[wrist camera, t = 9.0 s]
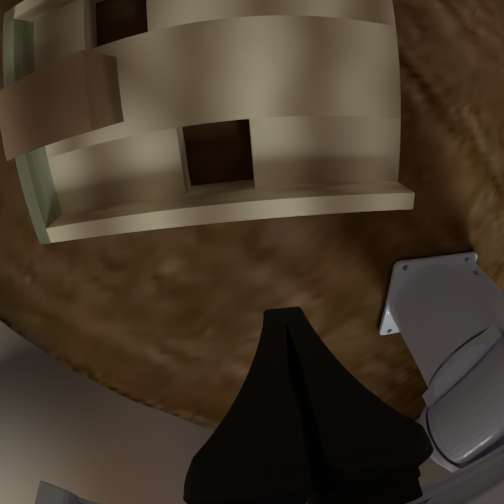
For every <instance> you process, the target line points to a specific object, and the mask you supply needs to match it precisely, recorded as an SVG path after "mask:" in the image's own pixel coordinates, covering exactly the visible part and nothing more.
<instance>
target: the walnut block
mask: <svg viewBox="0 0 504 504" xmlns="http://www.w3.org/2000/svg"><path fill="white" fill-rule="evenodd" d="M121 122H124V119H123V112H122V105H121V97H120V89H119V80H118V70H117V59H116V57H114V56H109V55H105V54H100V53H96V52H91V51H86V50H82V51H79V52H77V53H74V54H72V55H69V56H67V57H65V58H62V59H60V60H58V61H55V62H53V63H51V64H49V65H47V66H45V67H43V68H41V69H39V70H37V71H35V72H33V73H31V74H29V75H27V76H25V77H23V78H21V79H19V80H18V81H16V82H14V83H12V84H11V85H9V86H7V87H5V88H4V89H2V90H0V128H1V134H2V140H3V145H4V151H5V156H6V160H7V161H8V160H10V159H13V158H15V157H17V156H20V155H22V154H25V153H28V152H30V151H33V150H36V149H38V148H41V147H44V146H47V145H49V144H52V143H55V142H58V141H61V140H64V139H67V138H71V137H74V136H77V135H80V134H84V133H87V132H91V131H94V130H97V129H100V128H104V127H107V126H110V125H114V124H117V123H121Z"/></svg>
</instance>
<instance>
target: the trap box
mask: <svg viewBox="0 0 504 504" xmlns="http://www.w3.org/2000/svg"><path fill="white" fill-rule="evenodd" d="M102 1H104V0H24V1H22V2H21V3H19V4H18V5H16V6H15V7H13V8H12V9H10V10H9V11H7V12H6V13H4V24H3V74H4V88H5V87H7V86H9V85H11V84H12V83H14V82H16V81H18V80H19V79H21V78H23V77H25V76H27V75H29V74H31V73H33V72H35V71H37V70H39V69H41V68H43V67H45V66H47V65H49V64H51V63H53V62H55V61H58V60H60V59H62V58H65V57H67V56H69V55H72V54H74V53H77V52H79V51H82V50H86V51H91V52H96V53H100V54H105V55H109V56H114V57H116V59H117V70H118V80H119V89H120V97H121V105H122V112H123V119H124V122H121V123H117V124H114V125H110V126H107V127H104V128H100V129H97V130H94V131H91V132H87V133H84V134H80V135H77V136H74V137H71V138H67V139H64V140H61V141H58V142H55V143H52V144H49V145H47V146H44V147H41V148H38V149H36V150H33V151H30V152H28V153H25V154H22V155H20V156H17V157H15V161H16V165H17V170H18V174H19V178H20V182H21V186H22V189H23V193H24V196H25V200H26V203H27V207H28V210H29V213H30V216H31V219H32V222H33V225H34V228H35V231H36V234H37V237H38V239H39V242H40V244H47V243H53V242H60V241H67V240H74V239H82V238H89V237H97V236H104V235H112V234H120V233H128V232H137V231H145V230H154V229H163V228H172V227H181V226H191V225H200V224H210V223H221V222H231V221H242V220H254V219H266V218H278V217H291V216H304V215H318V214H333V213H349V212H367V211H386V210H407V209H413V205H414V197H415V193H414V192H413V191H411V190H410V189H408V188H407V187H405V186H404V185H402V184H401V183H399V182H398V174H399V159H400V135H401V91H400V68H399V53H398V42H397V32H396V24H395V16H394V9H393V3H392V0H146V5H147V23H148V32H146V33H142V34H138V35H134V36H131V37H127V38H124V39H120V40H117V41H114V42H111V43H108V44H105V45H102V46H99V47H98V46H97V26H96V3H99V2H102ZM242 119H249V128H250V139H251V151H252V163H253V175H254V180H242V181H232V182H222V183H212V184H203V185H195V186H191V183H190V176H189V169H188V163H187V156H186V149H185V141H184V134H183V127H184V126H190V125H198V124H205V123H213V122H222V121H231V120H242Z"/></svg>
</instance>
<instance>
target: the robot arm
mask: <svg viewBox="0 0 504 504" xmlns="http://www.w3.org/2000/svg"><path fill="white" fill-rule="evenodd" d="M465 258H466V259H465ZM476 260H477V254H476V253H475V252H467V253H459V254H452V255H444V256H436V257H428V258H420V259H411V260H403V261H398V262H396V263H395V264H394V266H393V271H392V276H391V281H390V286H389V290H388V295H387V299H386V303H385V308H384V312H383V316H382V320H381V324H380V327H379V333H380V335H387V334H392V333H397V332H400V333H401V335H402V337H403V339H404V341H405V342H406V344H407V346H408V348H409V350H410V352H411V354H412V356H413V358H414V360H415V362H416V364H417V366H418V368H419V370H420V372H421V374H422V376H423V378H424V380H425V382H426V384H427V387H428V390H427V391H426V392H425V393H424V394H423V395H422V396H423V399H424V401H425V403H426V405H427V406H426V407H425V408H424V409H423V411H422V413H421V415H420V424H419V423H417V422H415V421H413V420H411V419H410V418H408V417H406V416H404V415H403V414H401V413H400V412H398V411H397V410H395V409H394V408H392V407H391V406H389V405H388V404H386V403H385V402H383V401H382V400H381V399H380V398H378V397H377V396H376V395H374V394H373V393H372V392H371V391H369V390H368V389H367V388H366V387H364V386H363V385H362V384H361V383H360V382H359V381H358V380H357V379H356V378H355V377H354V376H352V375H351V374H350V373H349V372H348V371H347V370H346V369H345V367H344V366H343V365H342V364H341V363H340V362H339V361H338V360H337V359H336V358H335V356H334V355H333V354H332V353H331V352H330V350H329V349H328V348H327V347H326V345H325V344H324V343H323V341H322V340H321V339H320V337H319V336H318V335H317V333H316V332H315V330H314V329H313V327H312V326H311V324H310V323H309V321H308V320H307V318H306V316H305V315H304V313H303V311H302V309H301V308H300V307H290V308H280V309H269V310H266V311H264V320H263V328H262V333H261V337H260V341H259V344H258V348H257V351H256V354H255V357H254V360H253V362H252V365H251V368H250V370H249V373H248V375H247V377H246V380H245V382H244V384H243V386H242V388H241V390H240V392H239V394H238V396H237V397H236V399H235V401H234V403H233V404H232V406H231V408H230V410H229V411H228V413H227V414H226V416H225V417H224V419H223V420H222V422H221V423H220V425H219V426H218V427H217V429H216V430H215V432H214V433H213V434H212V436H211V437H210V438H209V440H208V441H207V442H206V443H205V444H204V445H203V447H202V448H201V449H200V450H199V451H198V453H197V454H196V455H195V456H194V457H193V459H192V461H191V464H190V466H189V469H188V472H187V475H186V479H185V484H184V497H183V499H184V501H185V502H186V503H187V504H306V502H307V504H421V503H422V504H504V292H503V291H502V290H501V289H500V288H499V287H498V286H497V285H496V284H495V282H494V281H493V280H492V279H491V278H490V277H489V276H488V275H487V274H486V273H485V272H484V271H483V270H482V269H481V268H480V267H479V266H478V265H477V264H476ZM405 265H406V266H405ZM404 266H405V267H404ZM403 267H404V268H403ZM295 408H296V409H295ZM296 412H297V414H296ZM297 417H298V419H297ZM298 422H299V423H298ZM429 457H431V458H432V459H433V460H434V461H435V462H436V463H437V464H439V465H441V466H443V467H444V468H446V469H447V470H449V471H450V472H451V474H449V475H447V476H444V477H442V478H440V479H438V480H435V481H433V482H431V483H428V484H426V485H423V486H420V483H419V480H418V478H419V477H420V476H421V473H420V470H419V466H420V465H421V464H423V463H424V462H425V461H426V460H427V459H428V458H429ZM35 504H99V503H95V502H92V501H89V500H86V499H83V498H79V497H78V496H77V495H75V494H73V493H71V492H69V491H67V490H65V489H62V488H60V487H57V486H54V485H52V484H49V483H47V482H44V481H40V484H39V488H38V492H37V496H36V500H35Z"/></svg>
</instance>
